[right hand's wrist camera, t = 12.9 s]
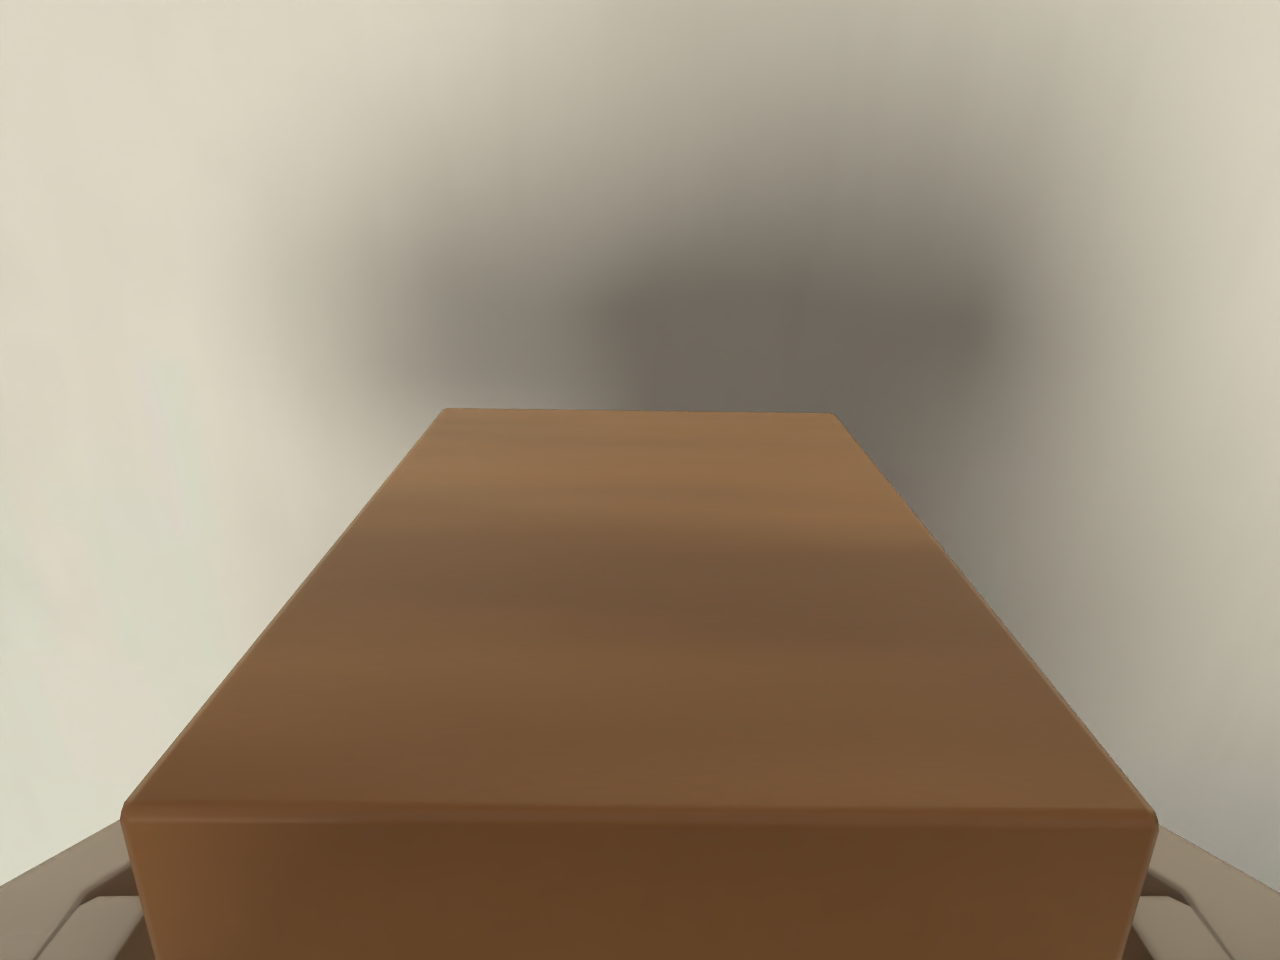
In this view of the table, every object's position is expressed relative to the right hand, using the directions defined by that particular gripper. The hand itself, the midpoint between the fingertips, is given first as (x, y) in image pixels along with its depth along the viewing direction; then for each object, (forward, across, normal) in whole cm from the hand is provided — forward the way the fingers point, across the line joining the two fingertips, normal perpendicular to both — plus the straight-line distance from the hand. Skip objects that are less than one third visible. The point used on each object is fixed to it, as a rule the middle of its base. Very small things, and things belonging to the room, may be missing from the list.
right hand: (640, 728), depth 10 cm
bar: (+3, 0, -10) cm, 10 cm away
